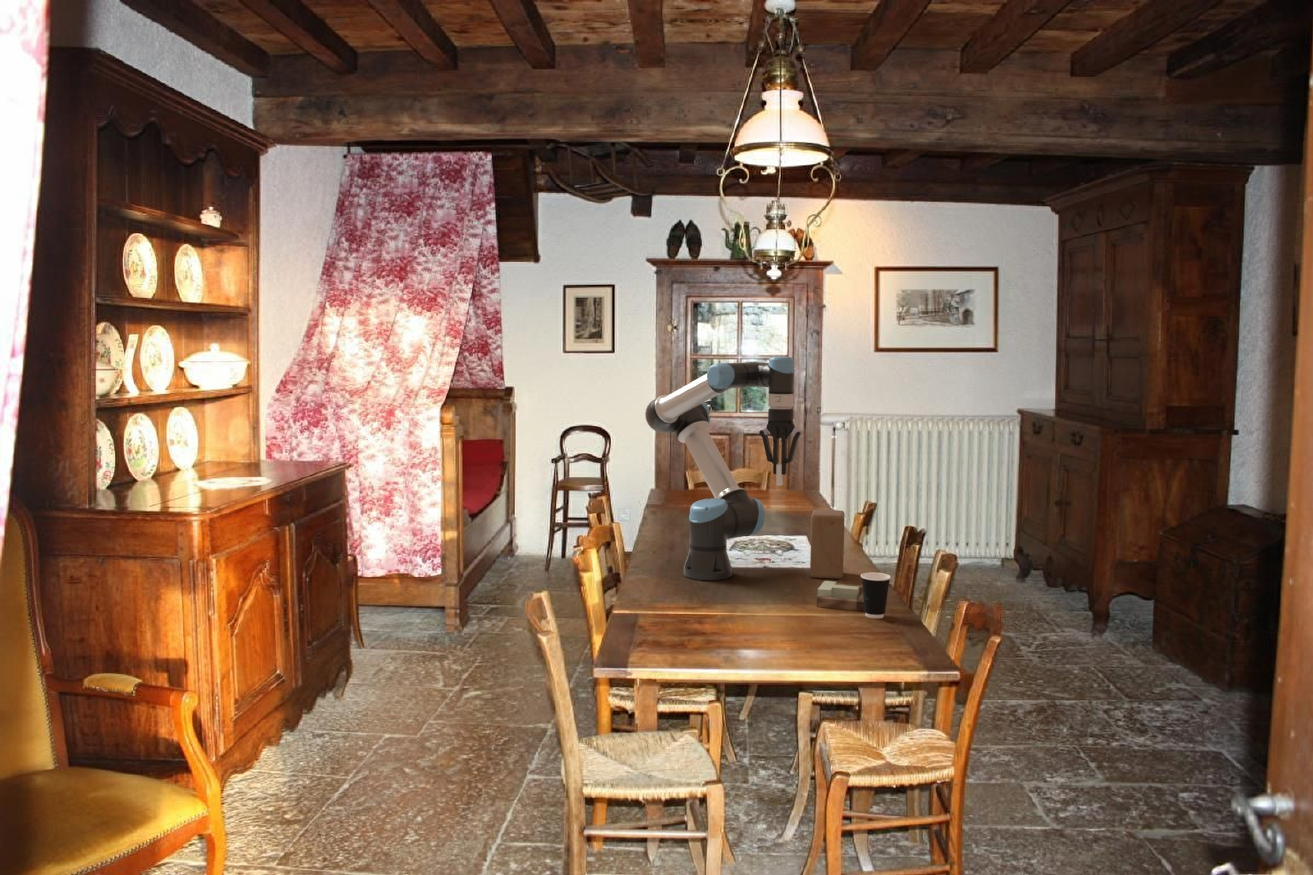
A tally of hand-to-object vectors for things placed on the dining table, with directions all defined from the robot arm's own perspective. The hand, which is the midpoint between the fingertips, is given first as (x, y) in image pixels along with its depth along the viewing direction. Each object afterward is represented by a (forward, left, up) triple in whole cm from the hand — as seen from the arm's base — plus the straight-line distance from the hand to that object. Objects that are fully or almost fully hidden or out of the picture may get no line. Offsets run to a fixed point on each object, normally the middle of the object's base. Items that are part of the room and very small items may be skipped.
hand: (779, 485), depth 304 cm
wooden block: (+13, +11, -30) cm, 34 cm away
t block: (+22, -17, -30) cm, 40 cm away
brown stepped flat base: (+24, -17, -29) cm, 42 cm away
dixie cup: (+33, -30, -30) cm, 54 cm away
